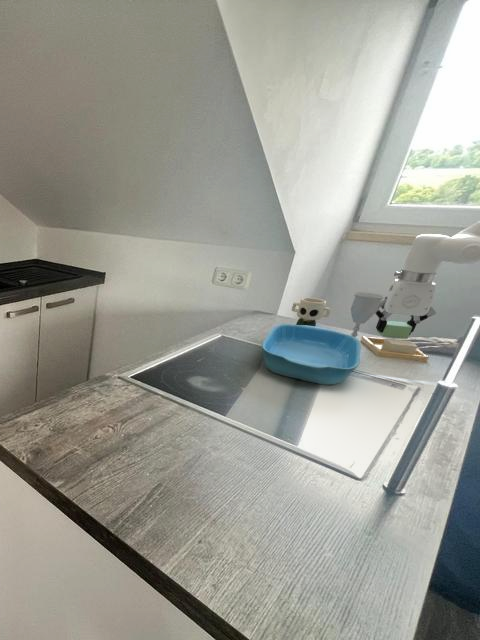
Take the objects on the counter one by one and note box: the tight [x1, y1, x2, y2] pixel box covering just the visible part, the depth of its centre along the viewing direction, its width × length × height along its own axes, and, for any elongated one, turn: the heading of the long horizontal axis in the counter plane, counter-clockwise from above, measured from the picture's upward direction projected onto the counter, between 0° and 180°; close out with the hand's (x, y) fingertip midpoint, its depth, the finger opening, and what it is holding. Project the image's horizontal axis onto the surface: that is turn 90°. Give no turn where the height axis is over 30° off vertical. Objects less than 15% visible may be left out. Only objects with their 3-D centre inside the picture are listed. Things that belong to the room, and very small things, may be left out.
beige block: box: [381, 337, 418, 355], centre depth 121 cm, size 6×5×4 cm
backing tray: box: [360, 335, 430, 363], centre depth 124 cm, size 12×15×2 cm
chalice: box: [350, 291, 385, 338], centre depth 125 cm, size 7×7×18 cm
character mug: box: [291, 297, 332, 327], centre depth 137 cm, size 11×7×13 cm, turn 42°
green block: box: [376, 320, 412, 340], centre depth 125 cm, size 6×5×4 cm
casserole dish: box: [261, 323, 362, 386], centre depth 116 cm, size 37×22×7 cm, turn 139°
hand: (393, 332), depth 125 cm, fingers closed on green block, 6 cm apart
